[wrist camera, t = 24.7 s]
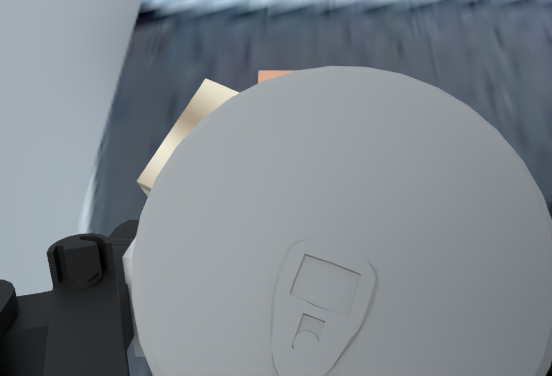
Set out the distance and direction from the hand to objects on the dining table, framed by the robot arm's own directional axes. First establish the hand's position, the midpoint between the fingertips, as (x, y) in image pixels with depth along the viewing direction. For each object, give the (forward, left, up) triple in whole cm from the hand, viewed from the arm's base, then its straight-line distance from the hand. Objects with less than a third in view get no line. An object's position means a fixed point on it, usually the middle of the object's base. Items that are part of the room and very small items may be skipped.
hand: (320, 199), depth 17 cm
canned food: (-2, +3, -4) cm, 6 cm away
